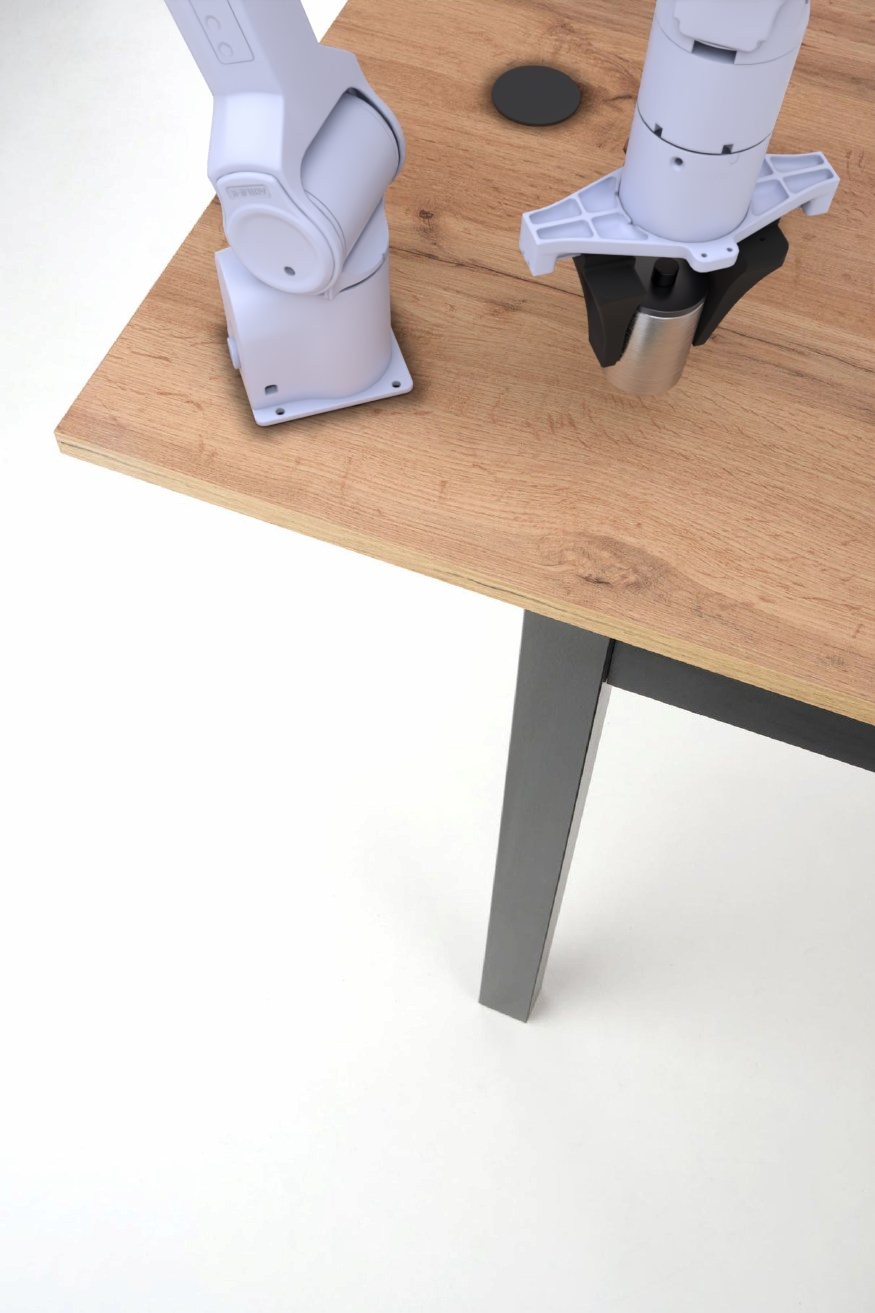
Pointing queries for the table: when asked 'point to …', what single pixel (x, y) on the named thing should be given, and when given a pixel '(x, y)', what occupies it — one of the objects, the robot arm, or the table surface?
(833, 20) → the table surface
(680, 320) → the steel pot
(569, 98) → the trivet
